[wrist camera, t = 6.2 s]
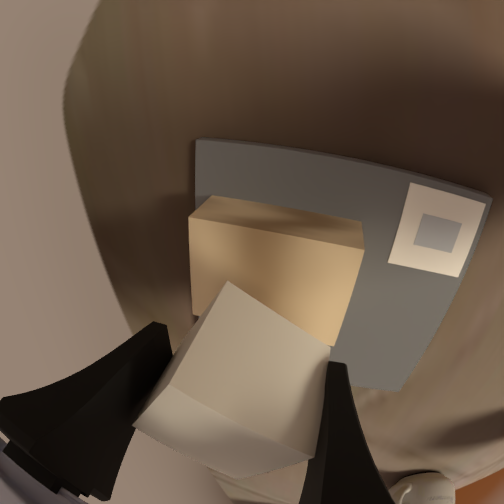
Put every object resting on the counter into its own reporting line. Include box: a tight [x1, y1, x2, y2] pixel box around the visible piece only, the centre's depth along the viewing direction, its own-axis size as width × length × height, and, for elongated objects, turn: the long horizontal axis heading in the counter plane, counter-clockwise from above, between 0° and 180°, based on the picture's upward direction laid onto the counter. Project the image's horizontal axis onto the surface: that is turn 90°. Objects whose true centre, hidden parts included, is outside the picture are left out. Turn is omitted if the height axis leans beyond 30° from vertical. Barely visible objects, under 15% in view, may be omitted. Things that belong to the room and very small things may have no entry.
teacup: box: [388, 473, 455, 504], centre depth 27 cm, size 14×11×8 cm
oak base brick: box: [188, 195, 365, 346], centre depth 16 cm, size 8×6×3 cm
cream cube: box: [132, 281, 331, 480], centre depth 10 cm, size 4×4×4 cm
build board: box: [195, 137, 493, 392], centre depth 18 cm, size 16×16×1 cm
